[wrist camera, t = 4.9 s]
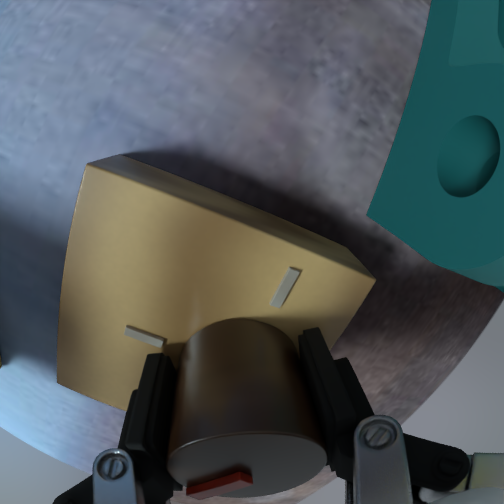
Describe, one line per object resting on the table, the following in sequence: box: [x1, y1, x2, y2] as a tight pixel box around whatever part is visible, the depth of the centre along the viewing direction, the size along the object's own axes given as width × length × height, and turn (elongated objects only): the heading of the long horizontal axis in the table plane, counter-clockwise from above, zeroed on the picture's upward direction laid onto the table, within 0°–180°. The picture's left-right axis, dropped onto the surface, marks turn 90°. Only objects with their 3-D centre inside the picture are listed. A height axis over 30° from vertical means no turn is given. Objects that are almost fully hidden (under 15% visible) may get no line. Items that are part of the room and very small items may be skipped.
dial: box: [165, 319, 328, 500], centre depth 9 cm, size 4×4×5 cm
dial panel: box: [57, 154, 376, 411], centre depth 12 cm, size 11×10×3 cm
